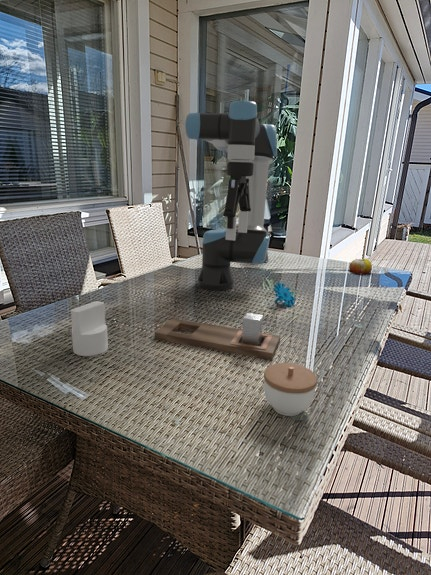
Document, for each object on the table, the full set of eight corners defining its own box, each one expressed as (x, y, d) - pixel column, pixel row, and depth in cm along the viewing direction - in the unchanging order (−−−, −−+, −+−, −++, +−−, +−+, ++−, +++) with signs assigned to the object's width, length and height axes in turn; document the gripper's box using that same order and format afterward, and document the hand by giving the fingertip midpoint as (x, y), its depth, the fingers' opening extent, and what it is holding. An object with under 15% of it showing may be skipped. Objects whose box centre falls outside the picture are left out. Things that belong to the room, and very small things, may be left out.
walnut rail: (172, 324, 125) (172, 317, 125) (279, 342, 115) (280, 335, 115) (154, 338, 114) (154, 331, 114) (272, 360, 104) (272, 352, 104)
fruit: (351, 267, 206) (358, 253, 203) (370, 276, 202) (377, 262, 198) (344, 270, 197) (351, 256, 194) (364, 280, 193) (371, 265, 189)
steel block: (245, 342, 115) (247, 312, 112) (260, 344, 113) (263, 315, 111) (241, 348, 111) (243, 318, 108) (257, 351, 109) (259, 320, 107)
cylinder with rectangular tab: (89, 359, 101) (86, 315, 98) (65, 349, 106) (62, 307, 102) (115, 346, 109) (113, 305, 105) (92, 338, 113) (89, 298, 110)
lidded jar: (257, 393, 89) (260, 355, 86) (304, 393, 90) (308, 355, 87) (267, 424, 79) (271, 381, 76) (320, 422, 80) (325, 381, 77)
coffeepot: (255, 264, 205) (258, 229, 200) (244, 260, 213) (246, 226, 207) (277, 261, 214) (280, 227, 209) (265, 257, 221) (268, 225, 216)
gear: (284, 305, 141) (272, 281, 144) (273, 313, 145) (261, 290, 148) (302, 303, 148) (290, 280, 152) (291, 311, 152) (279, 288, 156)
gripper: (238, 161, 125) (235, 228, 131) (214, 160, 102) (211, 242, 109) (262, 162, 123) (257, 230, 129) (242, 161, 100) (238, 244, 107)
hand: (236, 236), depth 119 cm, fingers open, 13 cm apart
